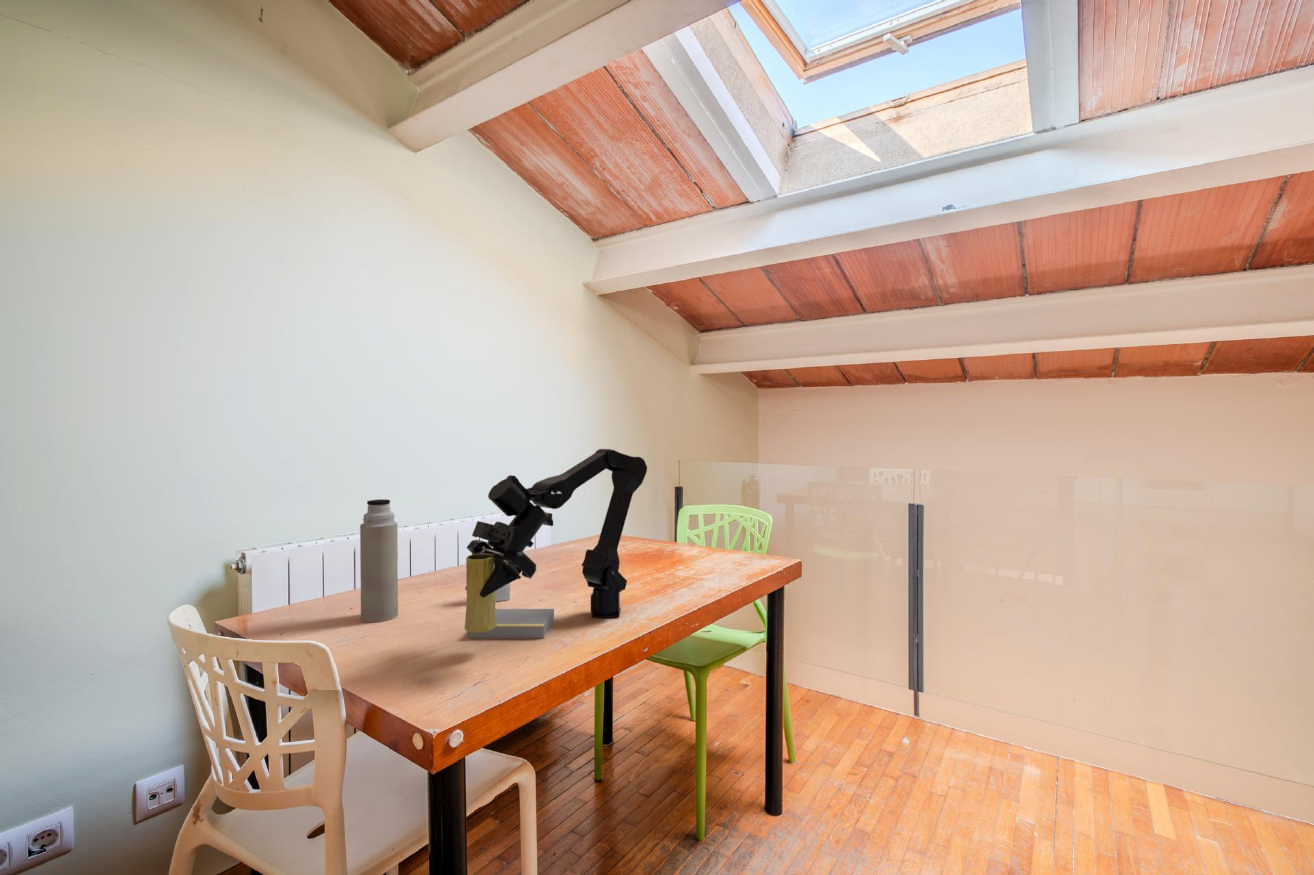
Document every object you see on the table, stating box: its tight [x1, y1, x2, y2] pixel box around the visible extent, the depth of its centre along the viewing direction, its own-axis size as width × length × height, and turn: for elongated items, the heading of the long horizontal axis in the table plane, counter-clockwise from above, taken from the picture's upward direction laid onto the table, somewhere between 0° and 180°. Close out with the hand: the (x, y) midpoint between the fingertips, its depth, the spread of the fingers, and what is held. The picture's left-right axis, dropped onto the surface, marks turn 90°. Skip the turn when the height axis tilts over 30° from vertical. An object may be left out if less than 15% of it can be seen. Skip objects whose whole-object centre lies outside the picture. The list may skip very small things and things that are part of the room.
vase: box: [464, 553, 497, 633], centre depth 112 cm, size 6×6×14 cm
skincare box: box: [494, 564, 511, 603], centre depth 148 cm, size 6×4×12 cm
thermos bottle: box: [359, 498, 399, 623], centre depth 134 cm, size 8×8×28 cm
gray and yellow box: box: [468, 608, 555, 639], centre depth 126 cm, size 16×12×3 cm
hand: (474, 593), depth 111 cm, fingers closed on vase, 5 cm apart
